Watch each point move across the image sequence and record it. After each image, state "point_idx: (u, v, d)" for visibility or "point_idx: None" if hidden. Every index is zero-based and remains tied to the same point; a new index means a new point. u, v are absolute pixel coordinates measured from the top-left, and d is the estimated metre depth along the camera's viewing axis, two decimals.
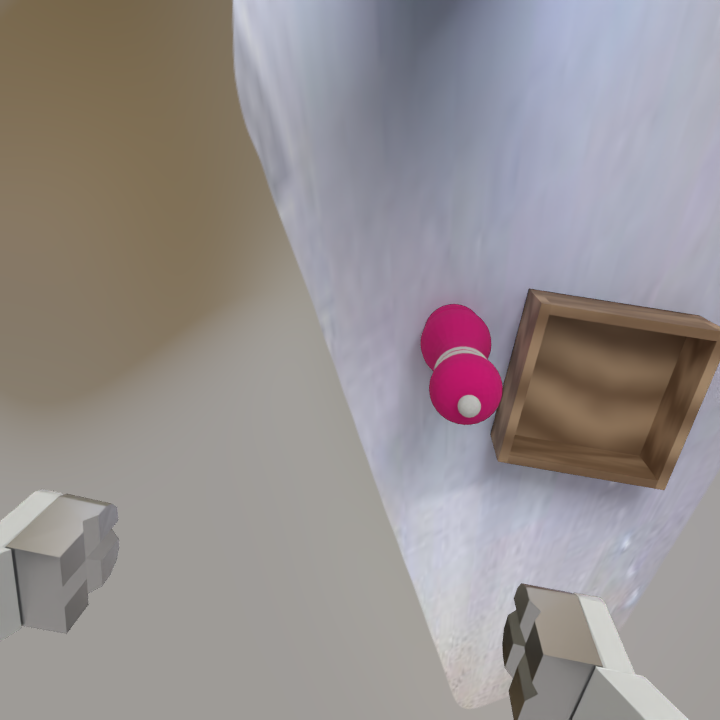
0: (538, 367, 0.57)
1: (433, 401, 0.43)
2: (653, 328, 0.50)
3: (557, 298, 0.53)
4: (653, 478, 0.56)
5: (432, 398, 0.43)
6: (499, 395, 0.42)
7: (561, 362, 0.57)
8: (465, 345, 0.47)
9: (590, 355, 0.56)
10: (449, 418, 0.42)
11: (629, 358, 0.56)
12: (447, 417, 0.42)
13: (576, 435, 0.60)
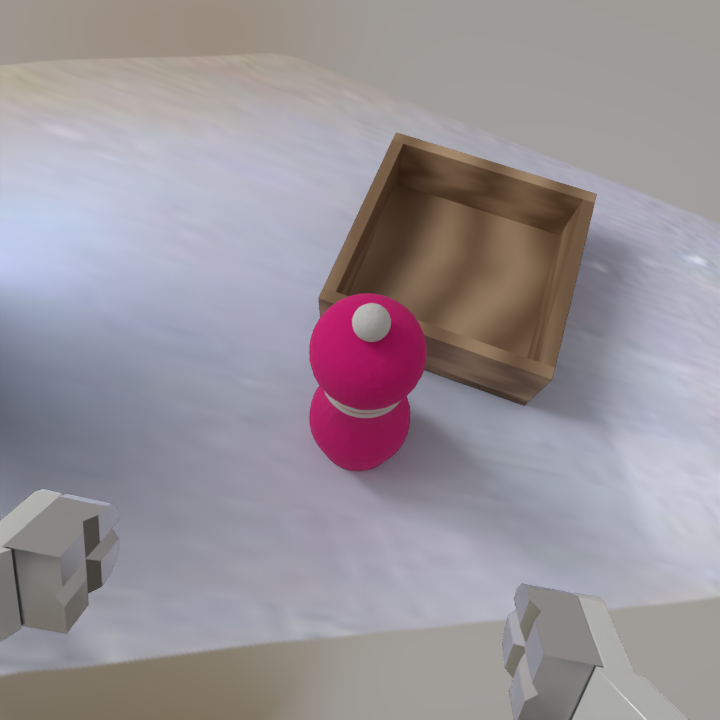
0: None
1: (373, 395, 0.25)
2: (376, 194, 0.43)
3: None
4: (580, 205, 0.44)
5: (367, 396, 0.25)
6: (376, 294, 0.26)
7: (421, 305, 0.45)
8: None
9: (416, 274, 0.46)
10: (403, 369, 0.24)
11: (427, 237, 0.47)
12: (402, 373, 0.24)
13: (528, 298, 0.45)
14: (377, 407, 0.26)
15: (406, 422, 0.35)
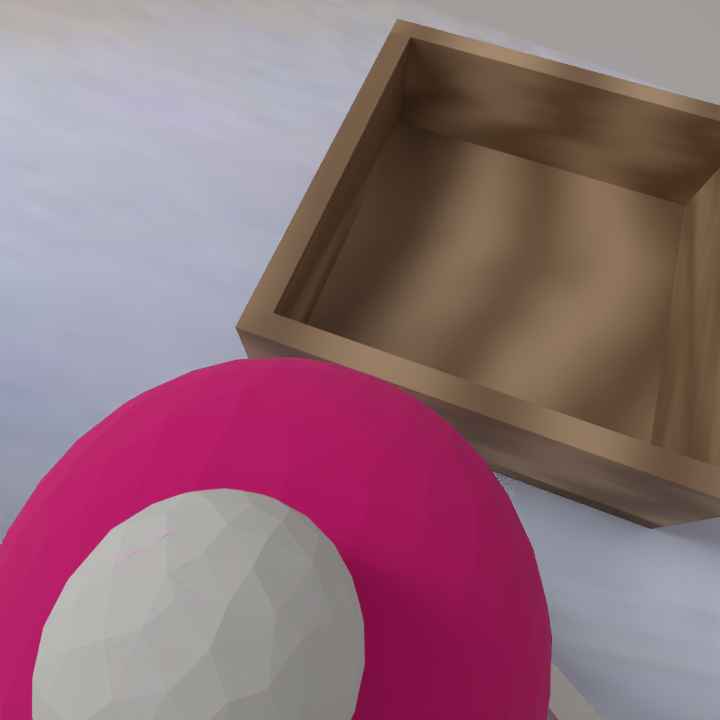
0: None
1: None
2: (361, 122, 0.22)
3: None
4: None
5: None
6: (311, 364, 0.06)
7: (447, 332, 0.24)
8: None
9: (436, 275, 0.25)
10: None
11: (453, 210, 0.27)
12: None
13: (642, 318, 0.25)
14: None
15: None
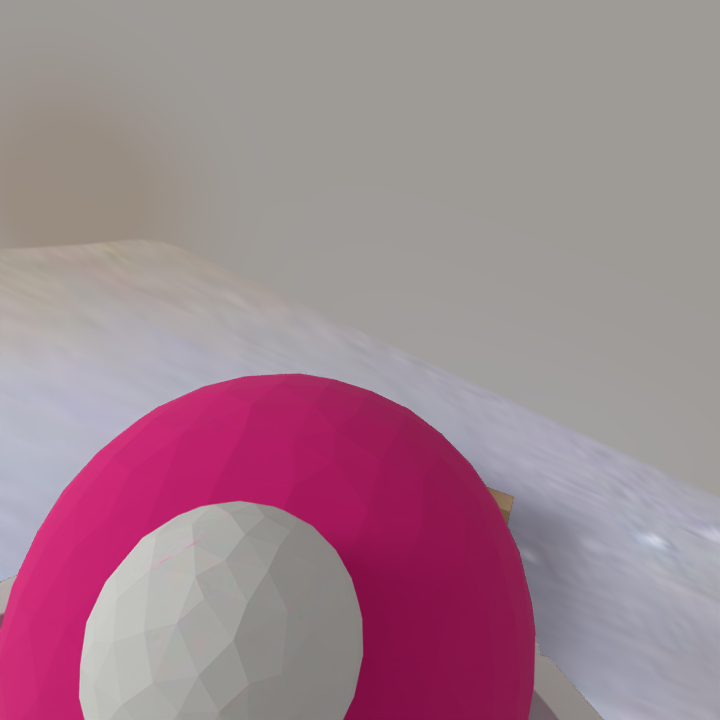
0: None
1: None
2: None
3: None
4: None
5: None
6: (314, 382, 0.06)
7: None
8: None
9: None
10: None
11: None
12: None
13: None
14: None
15: None
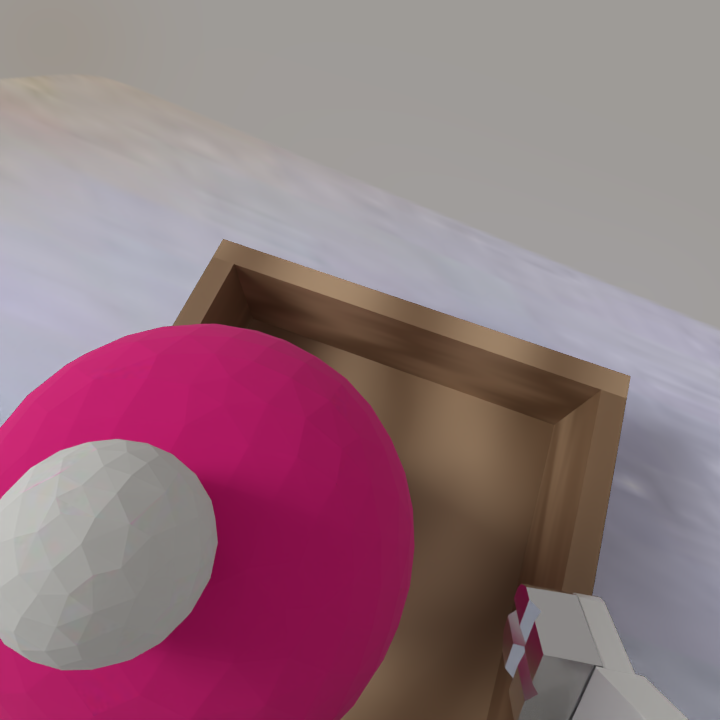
0: None
1: None
2: None
3: None
4: (596, 400, 0.21)
5: None
6: (223, 332, 0.07)
7: None
8: None
9: None
10: (305, 709, 0.05)
11: None
12: None
13: (490, 576, 0.22)
14: None
15: None
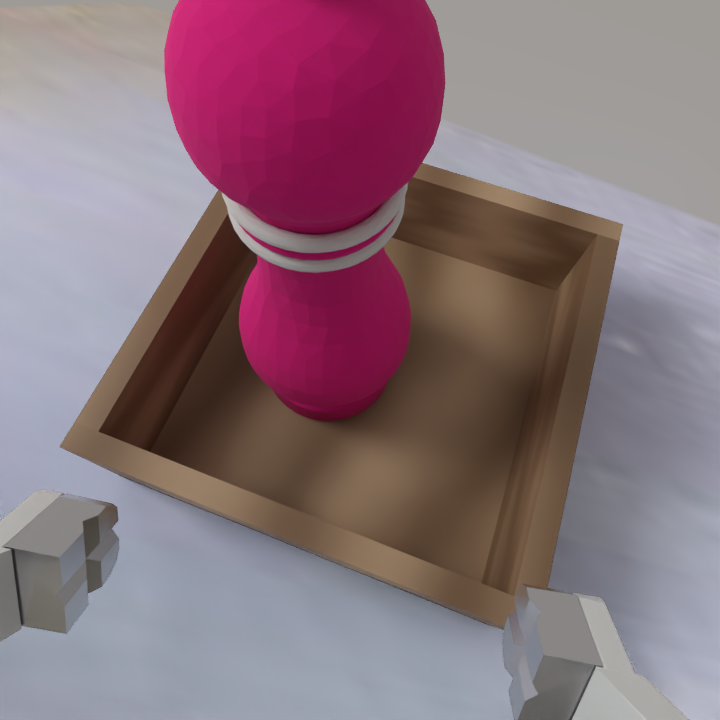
0: (307, 476, 0.24)
1: (310, 147, 0.09)
2: (213, 227, 0.23)
3: None
4: (593, 245, 0.24)
5: (295, 150, 0.09)
6: None
7: (306, 424, 0.25)
8: None
9: None
10: (388, 73, 0.09)
11: None
12: (383, 82, 0.09)
13: (500, 409, 0.25)
14: (327, 200, 0.10)
15: (404, 324, 0.20)
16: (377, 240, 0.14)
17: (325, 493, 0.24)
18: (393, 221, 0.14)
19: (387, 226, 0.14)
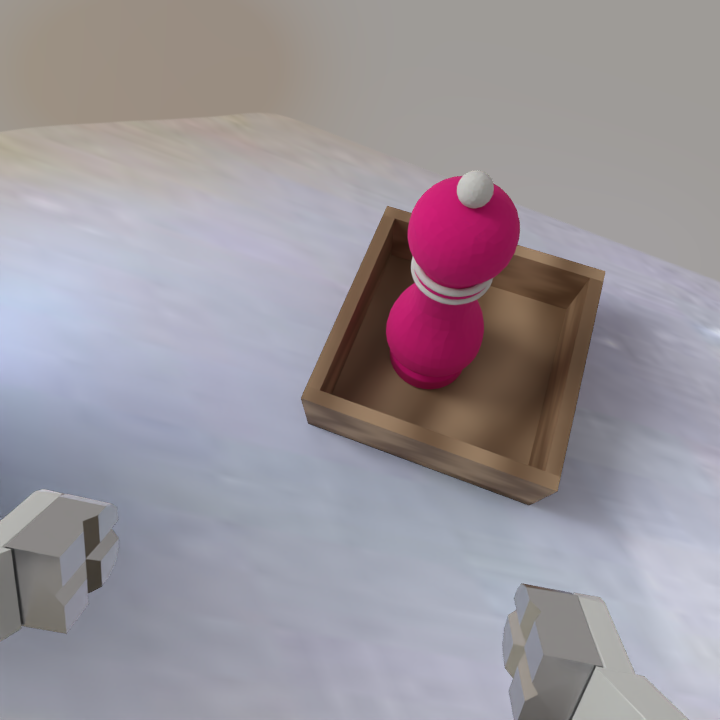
0: (419, 421, 0.40)
1: (475, 262, 0.26)
2: (365, 276, 0.40)
3: None
4: (587, 283, 0.40)
5: (469, 263, 0.26)
6: None
7: (416, 391, 0.41)
8: None
9: None
10: (503, 237, 0.26)
11: None
12: (502, 240, 0.26)
13: (532, 382, 0.42)
14: (475, 279, 0.27)
15: (482, 330, 0.37)
16: (483, 290, 0.31)
17: (430, 431, 0.40)
18: None
19: None
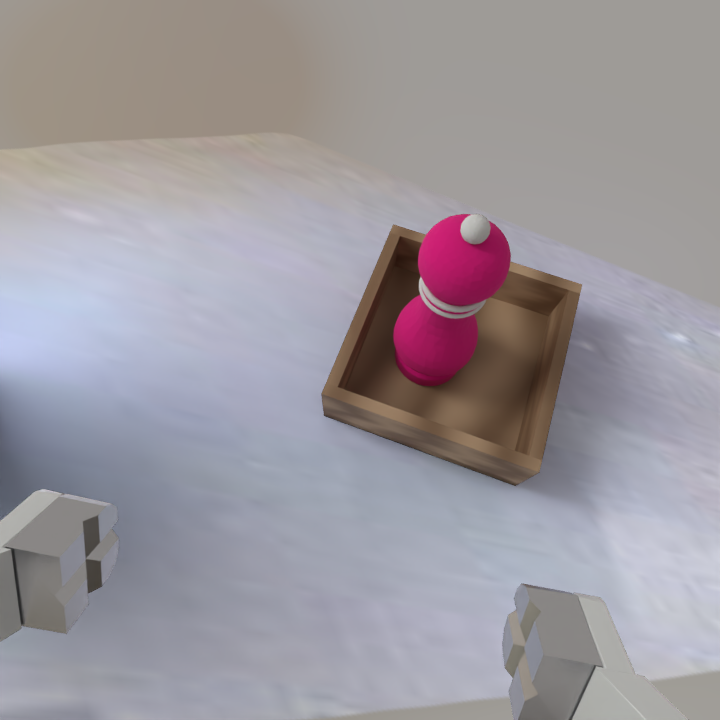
0: (421, 413, 0.47)
1: (474, 287, 0.32)
2: (375, 287, 0.46)
3: None
4: (566, 295, 0.47)
5: (470, 288, 0.32)
6: None
7: (418, 388, 0.48)
8: None
9: None
10: (497, 267, 0.32)
11: None
12: (496, 269, 0.32)
13: (519, 380, 0.48)
14: (474, 300, 0.33)
15: (476, 336, 0.43)
16: (479, 306, 0.37)
17: None
18: None
19: (483, 301, 0.37)
